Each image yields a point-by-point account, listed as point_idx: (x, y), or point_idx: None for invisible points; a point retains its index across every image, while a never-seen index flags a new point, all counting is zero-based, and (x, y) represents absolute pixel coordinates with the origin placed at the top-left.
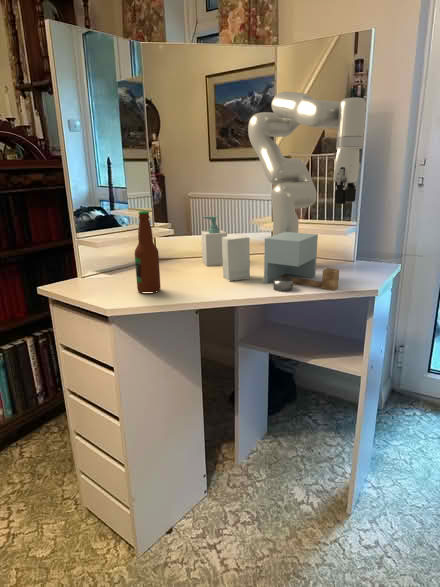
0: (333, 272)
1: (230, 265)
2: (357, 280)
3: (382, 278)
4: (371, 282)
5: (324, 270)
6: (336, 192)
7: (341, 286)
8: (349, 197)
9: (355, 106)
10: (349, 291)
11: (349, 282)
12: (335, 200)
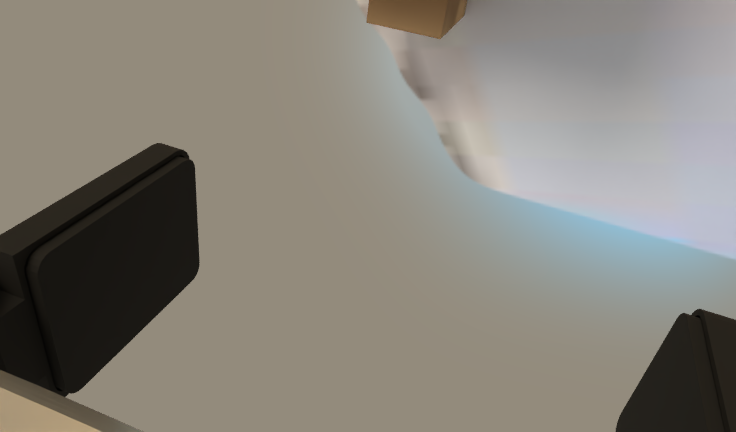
0: (369, 10)
1: None
2: (651, 110)
3: (725, 238)
4: (618, 179)
5: None
6: (28, 237)
7: (493, 31)
8: (652, 418)
9: None
10: (414, 76)
11: (593, 68)
12: (134, 165)
